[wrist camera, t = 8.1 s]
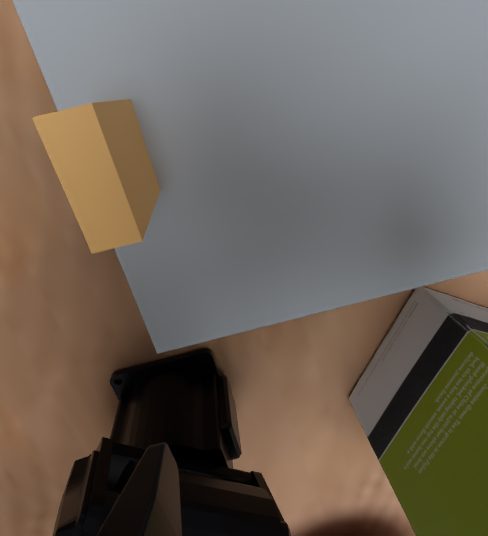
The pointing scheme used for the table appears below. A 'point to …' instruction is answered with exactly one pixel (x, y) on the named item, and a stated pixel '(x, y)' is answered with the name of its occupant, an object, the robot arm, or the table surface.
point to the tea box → (432, 413)
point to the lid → (268, 149)
